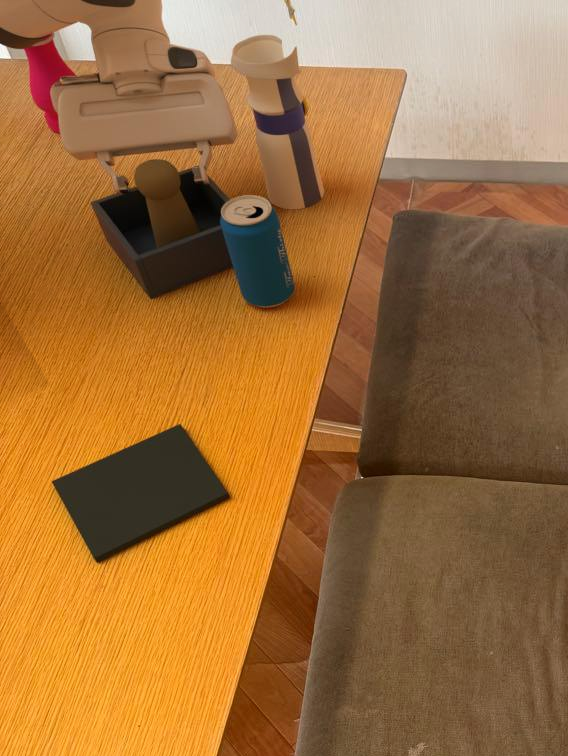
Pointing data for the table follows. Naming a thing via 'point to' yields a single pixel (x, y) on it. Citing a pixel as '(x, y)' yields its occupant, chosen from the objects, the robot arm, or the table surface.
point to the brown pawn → (165, 202)
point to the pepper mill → (46, 76)
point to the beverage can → (257, 250)
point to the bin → (173, 261)
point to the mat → (139, 491)
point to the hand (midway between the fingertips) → (162, 188)
